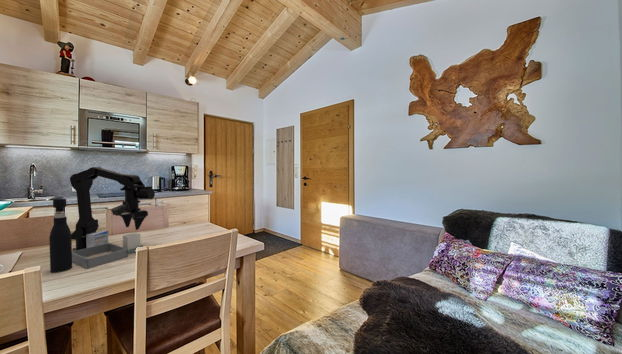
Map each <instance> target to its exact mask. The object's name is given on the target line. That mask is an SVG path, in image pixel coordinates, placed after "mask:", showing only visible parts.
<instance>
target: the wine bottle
mask: <svg viewBox="0 0 622 354" xmlns="http://www.w3.org/2000/svg"><path fill="white" fill-rule="evenodd" d="M65 207H67V198H55V199H54V198H53V199H52V208H54V209H55V212H54V217H53V226H52V227H51V230H50V232H49V239H48V240H49V272H50V273H55V274H56V273H61V272H65V271H68V270H71V269H72V268H73V262H72V251H73V247H72V241H73V240H72V239H71V234H72V231H71V229H70V227H69V225H68V222H67V219H68V218H67V215H66V212H65Z"/></svg>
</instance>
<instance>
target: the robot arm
mask: <svg viewBox="0 0 622 354" xmlns="http://www.w3.org/2000/svg"><path fill="white" fill-rule="evenodd" d="M98 177H100V178H104V179H108V180H112V181H115V182H118V184H119V185H122V186H123V187H121V188H119V190H120V191H124V200H122V204H120V205H117V206H114V207H113V208H111V209H110V211H111V213H112V215H113V216H118V217H120V218H122V221H123V222H124V225H125V227H126V228H129V227H130V225H131V222H132V220H133V221H134V227H135V230H136V231H137V230H139V229H140V227H141V225H142V224H143V222H144V221H145V219H146V218H147V217H148V216H149V211H147V210H146V209H141V208H140V207H139V203H141V200H153V199H154V198H155V195H156V192H155V190H154V189H153V186H151V185H150V186H146V185H145V184H144V183H143V181H142V180H141V178H140V176H139V175H136V174H128V173H121V172H116V171H113V170H109V169H106V168H102V167H101V166H91V167H90V168H88V169H86V170H82V171H79V172H78V173H74V174H72V175H71V176H70V177H69V181H70V184H71V187H72V188H73V189H74V190H75V192H76V200H77V209H78V211H77V212H78V217H79V218H78V220H77V221H76V223H75V230H74V231H73V232H71V239H72V241H73V240H75V247H72V251H77V250H81V249H85V248H87V244H86V235H87V234H91V233H95V232H98V230H99V227H100V226H99V220H98V219H95V218H94V217H93V213H92V212H93V211H92V201H91V200H92V199H91V193H90V191H91V188H92V186H93V182H94V180H96V179H97V178H98Z"/></svg>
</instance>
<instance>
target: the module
mask: <svg viewBox="0 0 622 354" xmlns="http://www.w3.org/2000/svg"><path fill="white" fill-rule="evenodd" d="M140 245H141V233H139V232H132V233H128V234H122V247H124V248H127V249H128V250H130V249H134V248H137V247H140Z"/></svg>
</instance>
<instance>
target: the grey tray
mask: <svg viewBox="0 0 622 354" xmlns="http://www.w3.org/2000/svg"><path fill="white" fill-rule="evenodd" d="M107 252H109V253H107ZM102 253H105V254H102ZM100 254H102V255H100ZM94 255H98V256H94ZM90 256H91V257H90ZM92 256H94V257H92ZM128 256H129V254H128V249H127V248H124V247H123V246H121V245H117V244H115V243H111V242H108V243H107V244H102V245H98V246H94V247H89V248H85V249H81V250H77V251H76V250H72V263H74V264H77V265H78V266H81V267H83V268H85V269H87V270H88V269H92V268H94V267H95V268H96V267H98V266H102V265H105V264H107V263H112V262H115V261H118V260H122V259H125V258H128ZM87 257H90V258H87Z"/></svg>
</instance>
